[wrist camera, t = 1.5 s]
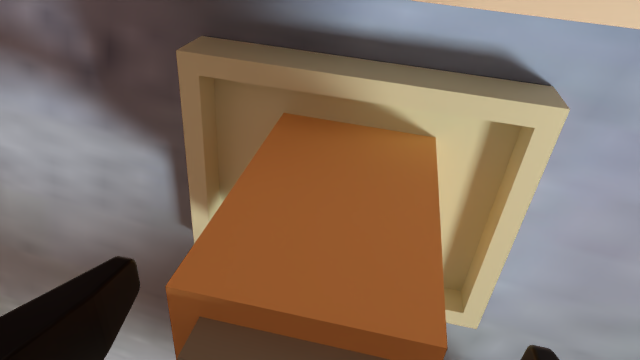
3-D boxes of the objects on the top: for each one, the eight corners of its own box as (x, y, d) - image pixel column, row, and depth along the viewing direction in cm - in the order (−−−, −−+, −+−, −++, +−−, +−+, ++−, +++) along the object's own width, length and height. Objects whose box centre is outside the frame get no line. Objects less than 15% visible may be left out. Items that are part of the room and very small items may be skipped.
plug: (405, 254, 15) (392, 533, 8) (278, 229, 16) (169, 472, 9) (435, 137, 13) (449, 398, 6) (283, 112, 13) (138, 326, 6)
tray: (472, 294, 16) (476, 329, 15) (213, 241, 17) (196, 269, 16) (553, 86, 12) (570, 109, 10) (201, 35, 13) (176, 50, 12)
